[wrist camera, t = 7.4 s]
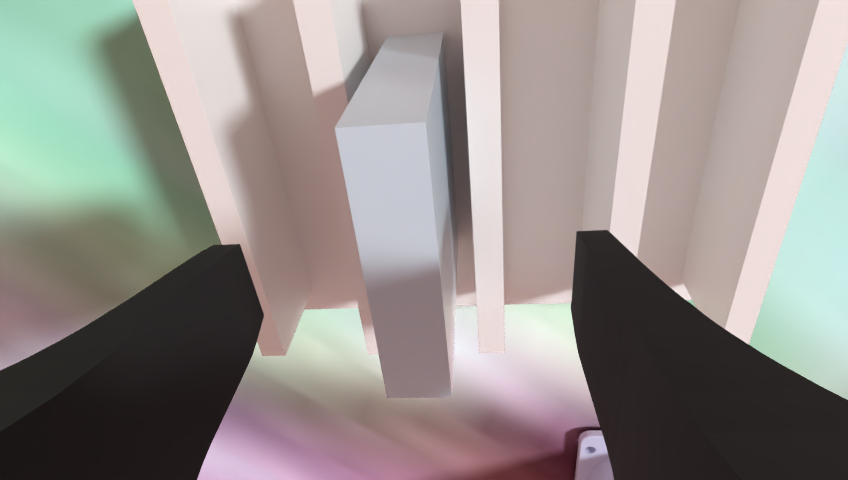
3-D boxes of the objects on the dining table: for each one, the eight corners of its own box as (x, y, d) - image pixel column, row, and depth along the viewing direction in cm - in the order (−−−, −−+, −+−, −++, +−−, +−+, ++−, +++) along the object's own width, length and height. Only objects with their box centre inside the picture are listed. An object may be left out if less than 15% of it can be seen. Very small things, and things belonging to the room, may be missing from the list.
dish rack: (700, 282, 20) (753, 372, 16) (295, 293, 22) (258, 376, 18) (800, -134, 13) (932, -144, 9) (190, -66, 15) (95, -52, 11)
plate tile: (458, 239, 19) (451, 397, 13) (413, 240, 19) (387, 397, 13) (443, 31, 15) (425, 121, 9) (387, 35, 15) (334, 128, 9)
